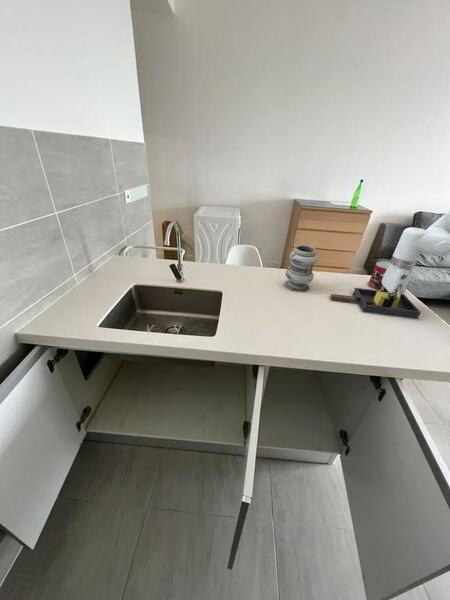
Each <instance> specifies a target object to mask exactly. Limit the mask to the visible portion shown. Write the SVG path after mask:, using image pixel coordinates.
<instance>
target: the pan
mask: <svg viewBox="0 0 450 600" xmlns="http://www.w3.org/2000/svg"><path fill="white" fill-rule="evenodd" d="M377 291H380V290H378V289H370V288H361V287H354V290H353V293H352V296H354V297H355V295H359V296H360V297H361V298H360V301H359V303H358V302H357V304H358V305H359V308H360V309H361V311H362V312H363V313H370V314H378V315H383V316H385V315H386V316H392V317H401V318H408V319H415V320H416V319H419V317H420V315H421V313H422V311H421V310H419V308H417V306H416V305H415V303H413V302H412V301H411V299H409V298H408V296H407V295H405V293H404V294H400V300H399V302H398V304H397V306H396V308H390V307H382V306H377V305H376V303H375V302H374V298H375V295H376V293H377ZM380 292H381V291H380ZM387 293H388V292H387ZM363 297H366V298H370V299H371V301H372V302H373V304H372V305H367V303H366V302H365V300H364V299H363Z"/></svg>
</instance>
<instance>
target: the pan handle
mask: <svg viewBox="0 0 450 600" xmlns="http://www.w3.org/2000/svg"><path fill="white" fill-rule="evenodd" d="M329 298H330V300H331V301H334V302H342V303H347V304H348V303H349V304H358V303H359V301H360V298H361V297H360V296H359V295H355V296H354V295H347V294H338V293H330V297H329Z"/></svg>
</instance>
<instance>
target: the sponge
mask: <svg viewBox="0 0 450 600" xmlns="http://www.w3.org/2000/svg"><path fill="white" fill-rule="evenodd" d="M387 295H388V293H387V292H380V290H378V291H377V293H376V295H375V298H374V302H375V303H376V305H377V306H382V304H383V302H384V300H385V298H387ZM392 295H394V294H391V296H392ZM399 300H400V298H398V299H396V300H394V302H393V304H392V306H391V308H396V306H397V304H398V302H399Z"/></svg>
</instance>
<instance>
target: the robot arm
mask: <svg viewBox="0 0 450 600" xmlns="http://www.w3.org/2000/svg"><path fill="white" fill-rule="evenodd" d="M421 253H423V254H427V255H431V256H435V257H447V256H449V255H450V211H448V212H446V213H445V214H444V215H442V216H441V217H439V218H438V219H437V220H436V221H435V222H433V223H432V224H430V226H429V227H427V228H426V229H424V228H419V227H414V226H413V227H406V228H405V229H404V230H403V231H402V234H401V236H400V238H399V240H398V243H397V244H396V247H395V250H394V252H393V254H392V256H391V259H390V261H389V262H388V263H389V264H390V265H389V266H388V268H387V270H386V272H385V274H384V276H383V279H382V288H381V290H379V291H381V292H388V295H387V298H385V300H384V302H383V304H382V307H390V308H391V306H392V304H393V302H394V300H396V299H398V298H400V294H404V295H405V292H406V290H407V287H408V286H409V282H410V280H411V277H412V273H413V270H414V267H415V265H416V263H417V261H418V259H419V257H420V255H421ZM391 294H394V295H392V296H391Z"/></svg>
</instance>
